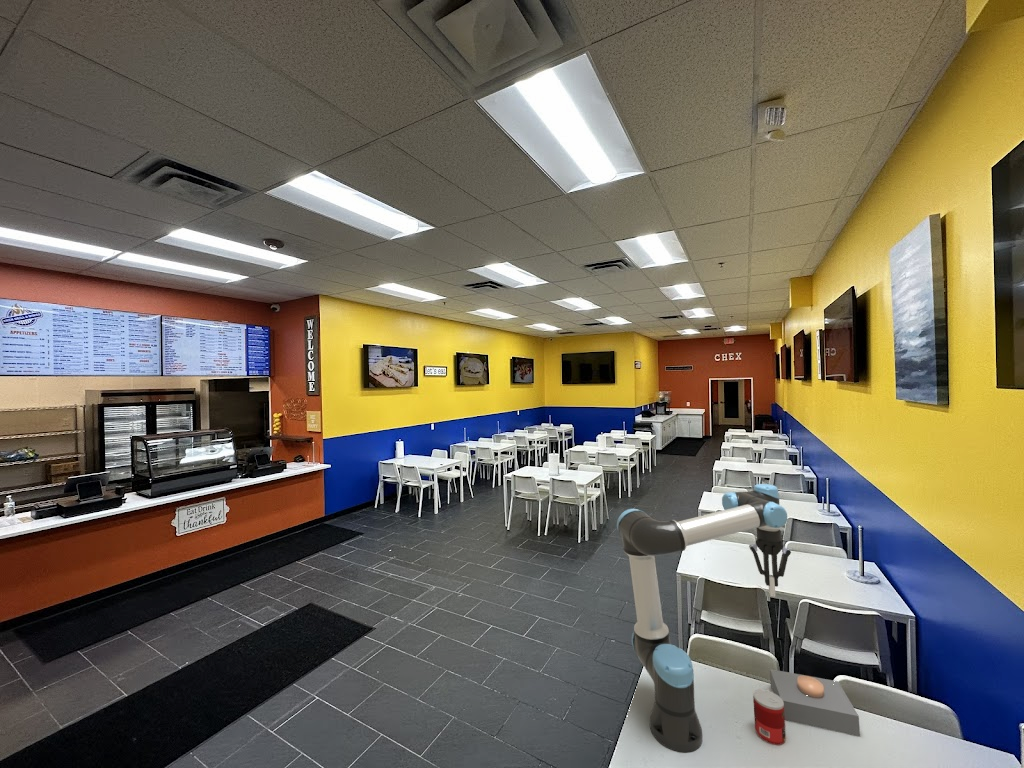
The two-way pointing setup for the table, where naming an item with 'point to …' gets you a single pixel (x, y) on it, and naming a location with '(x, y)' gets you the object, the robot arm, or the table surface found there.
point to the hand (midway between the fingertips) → (772, 594)
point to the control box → (816, 704)
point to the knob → (810, 686)
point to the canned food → (769, 716)
